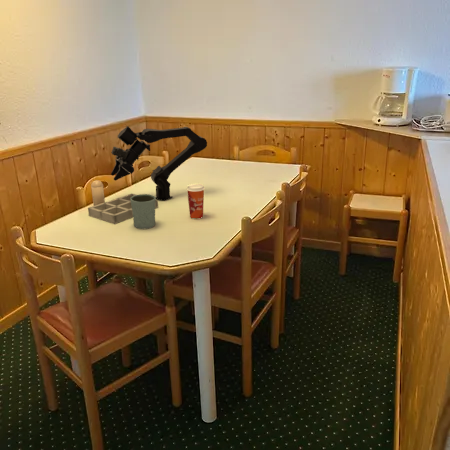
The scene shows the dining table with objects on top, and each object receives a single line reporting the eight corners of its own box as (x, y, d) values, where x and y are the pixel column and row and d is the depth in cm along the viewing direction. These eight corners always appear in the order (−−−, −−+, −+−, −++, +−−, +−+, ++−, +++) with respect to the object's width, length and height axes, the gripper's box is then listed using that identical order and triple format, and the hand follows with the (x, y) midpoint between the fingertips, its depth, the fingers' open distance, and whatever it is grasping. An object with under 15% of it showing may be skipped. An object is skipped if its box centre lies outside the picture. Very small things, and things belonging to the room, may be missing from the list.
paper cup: (191, 221, 186) (190, 189, 181) (185, 215, 192) (183, 184, 187) (208, 217, 189) (207, 186, 184) (201, 212, 196) (200, 182, 191)
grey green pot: (135, 220, 187) (133, 193, 183) (159, 220, 187) (157, 193, 182) (130, 229, 178) (127, 201, 173) (155, 229, 177) (153, 201, 173)
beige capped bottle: (107, 205, 205) (104, 180, 201) (98, 208, 202) (95, 182, 197) (100, 203, 208) (97, 178, 204) (91, 206, 205) (88, 180, 200)
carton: (158, 207, 202) (157, 200, 201) (114, 224, 184) (113, 215, 182) (132, 200, 212) (131, 193, 211) (88, 215, 194) (87, 207, 192)
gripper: (118, 136, 206) (96, 162, 207) (124, 144, 190) (101, 171, 191) (136, 152, 212) (115, 176, 212) (143, 160, 196) (121, 186, 196)
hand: (112, 177), depth 203 cm, fingers open, 9 cm apart
